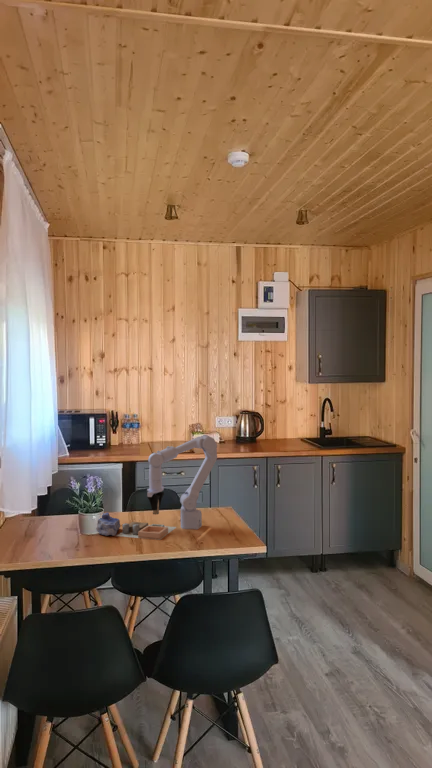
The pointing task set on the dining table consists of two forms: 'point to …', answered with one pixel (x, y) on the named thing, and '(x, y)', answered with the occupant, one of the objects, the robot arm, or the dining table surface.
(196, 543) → the dining table surface
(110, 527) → the mineral
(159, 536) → the tray
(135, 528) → the jig board
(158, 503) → the dowel
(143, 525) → the square tan tile
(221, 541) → the dining table surface
